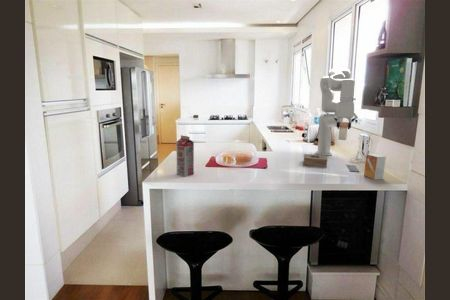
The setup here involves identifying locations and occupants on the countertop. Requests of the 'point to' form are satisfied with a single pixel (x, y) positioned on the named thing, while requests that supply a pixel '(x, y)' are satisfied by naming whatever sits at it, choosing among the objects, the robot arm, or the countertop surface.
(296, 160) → the countertop surface
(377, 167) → the small box
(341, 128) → the plug
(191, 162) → the juice carton
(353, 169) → the mat
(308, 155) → the socket block
